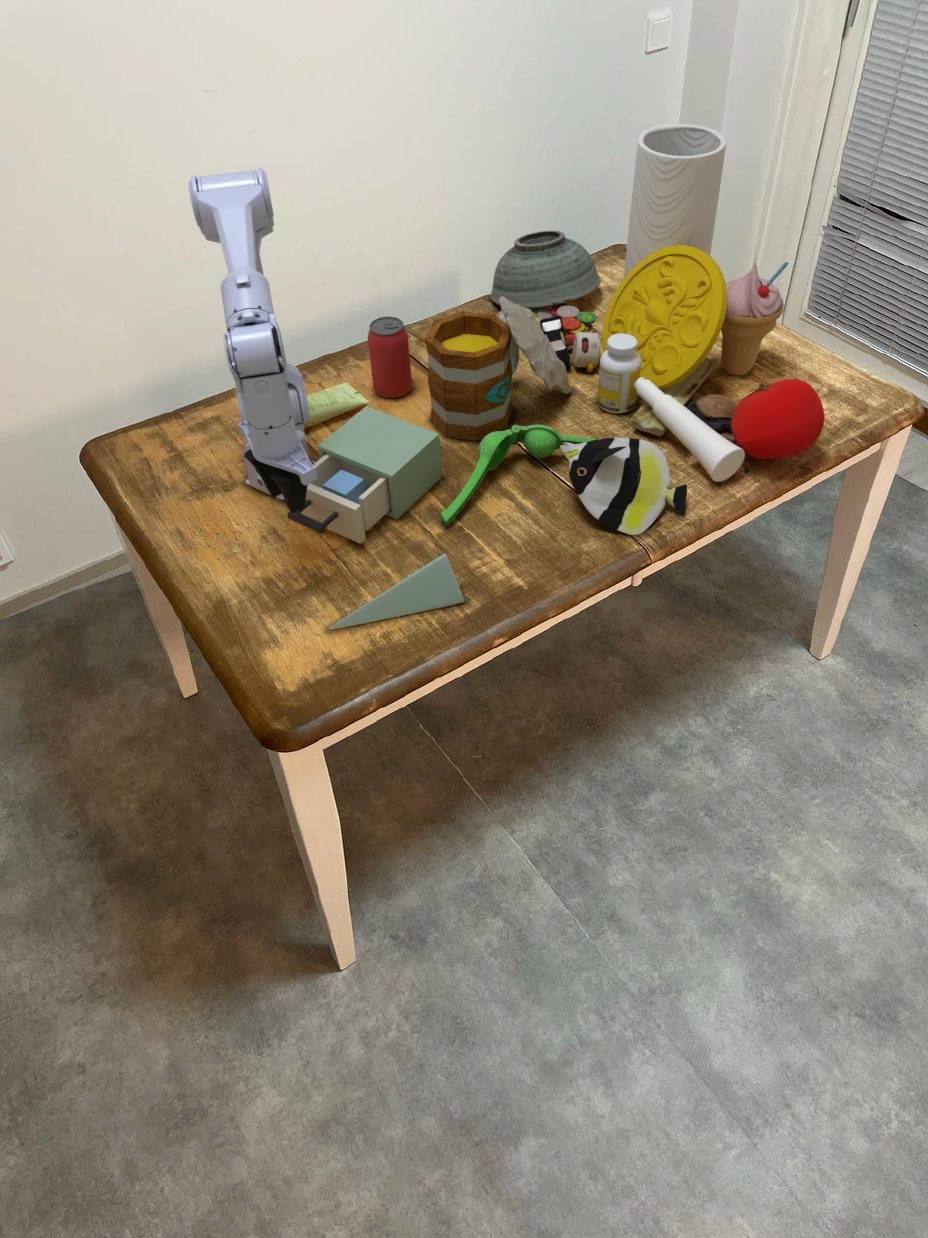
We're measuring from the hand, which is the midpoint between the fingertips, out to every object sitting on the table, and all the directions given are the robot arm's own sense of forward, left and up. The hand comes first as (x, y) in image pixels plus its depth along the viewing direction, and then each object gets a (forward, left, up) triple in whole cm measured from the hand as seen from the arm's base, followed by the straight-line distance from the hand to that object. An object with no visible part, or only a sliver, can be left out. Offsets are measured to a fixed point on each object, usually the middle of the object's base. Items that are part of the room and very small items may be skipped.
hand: (288, 500), depth 129 cm
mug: (+44, -2, -10) cm, 45 cm away
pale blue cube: (+11, 0, -8) cm, 14 cm away
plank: (+62, -26, -10) cm, 68 cm away
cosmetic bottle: (+46, -44, -7) cm, 64 cm away
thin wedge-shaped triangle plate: (-1, -19, -11) cm, 21 cm away
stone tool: (+56, -13, -10) cm, 58 cm away
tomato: (+55, -50, -9) cm, 75 cm away
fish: (+40, -30, -3) cm, 50 cm away
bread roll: (+60, -36, -10) cm, 71 cm away
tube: (+16, +23, -8) cm, 29 cm away
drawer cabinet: (+20, 0, -10) cm, 22 cm away
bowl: (+81, +10, +1) cm, 81 cm away
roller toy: (+63, -10, -10) cm, 65 cm away
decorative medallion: (+68, -22, -1) cm, 71 cm away
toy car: (+63, -5, -9) cm, 64 cm away
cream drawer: (+9, 0, -10) cm, 13 cm away
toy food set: (+69, -1, -10) cm, 70 cm away
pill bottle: (+56, -20, -11) cm, 61 cm away
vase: (+83, -15, -10) cm, 85 cm away
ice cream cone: (+75, -33, -10) cm, 83 cm away
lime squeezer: (+33, -18, -10) cm, 39 cm away
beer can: (+41, +14, -11) cm, 44 cm away
